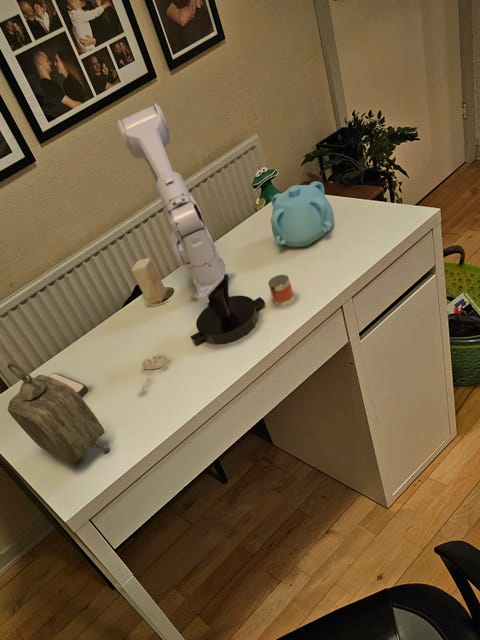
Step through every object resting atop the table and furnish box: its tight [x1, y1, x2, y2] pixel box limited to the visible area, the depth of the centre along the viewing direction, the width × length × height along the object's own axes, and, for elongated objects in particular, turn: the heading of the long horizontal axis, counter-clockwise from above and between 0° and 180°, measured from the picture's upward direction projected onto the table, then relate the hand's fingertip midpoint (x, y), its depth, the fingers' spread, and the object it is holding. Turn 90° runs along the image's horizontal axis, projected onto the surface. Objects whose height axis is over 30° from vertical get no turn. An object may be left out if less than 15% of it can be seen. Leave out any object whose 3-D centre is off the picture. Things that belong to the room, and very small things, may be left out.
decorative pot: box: [270, 181, 335, 248], centre depth 142 cm, size 16×16×14 cm
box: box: [130, 257, 167, 305], centre depth 146 cm, size 5×4×11 cm
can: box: [267, 274, 295, 307], centre depth 127 cm, size 5×5×6 cm
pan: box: [190, 296, 266, 346], centre depth 127 cm, size 14×19×3 cm
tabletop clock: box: [6, 361, 110, 463], centre depth 105 cm, size 14×9×25 cm, turn 52°
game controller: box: [141, 353, 168, 391], centre depth 124 cm, size 6×12×3 cm, turn 2°
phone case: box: [47, 372, 88, 398], centre depth 132 cm, size 9×2×16 cm
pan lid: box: [195, 295, 257, 337], centre depth 124 cm, size 15×15×6 cm
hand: (224, 311), depth 125 cm, fingers closed on pan lid, 2 cm apart
